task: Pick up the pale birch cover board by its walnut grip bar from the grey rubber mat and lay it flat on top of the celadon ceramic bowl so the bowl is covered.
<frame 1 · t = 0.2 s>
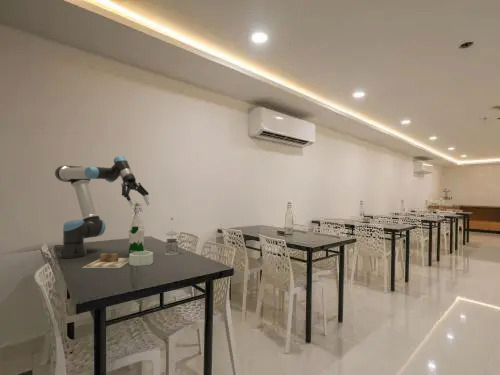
hand: (140, 204, 186), 35 cm above the table, tool tilted 35°, fingers open, 13 cm apart
milk carton: (136, 256, 195), on the table
french press: (172, 253, 205), on the table
ceramic bowl: (141, 263, 178), on the table
rubber mat: (109, 263, 177), on the table
birch board: (109, 262, 177), resting on rubber mat
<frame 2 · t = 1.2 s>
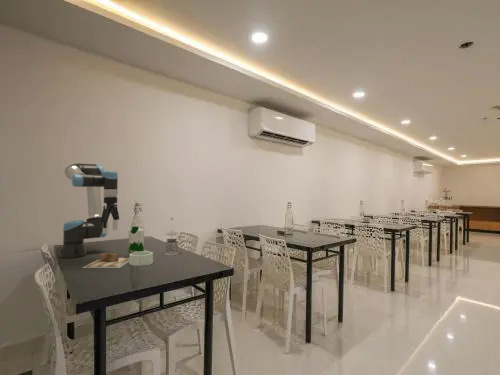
hand: (110, 231, 177), 19 cm above the table, tool pointing down, fingers open, 13 cm apart
nothing on the table moved.
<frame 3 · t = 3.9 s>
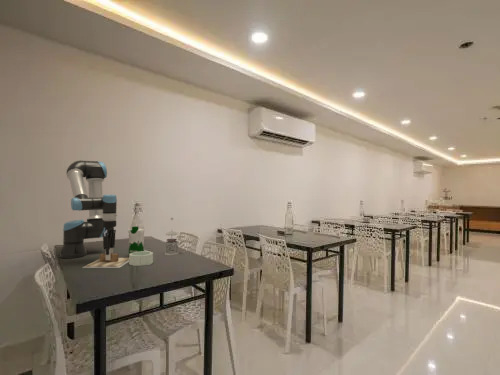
hand: (109, 259, 177), 3 cm above the table, tool pointing down, fingers closed on birch board, 2 cm apart
birch board: (109, 262, 177), resting on rubber mat, touching gripper
everything else where it was.
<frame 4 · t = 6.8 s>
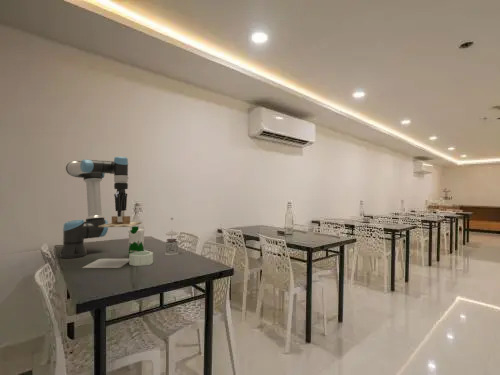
hand: (121, 221, 177), 25 cm above the table, tool pointing down, fingers closed on birch board, 2 cm apart
birch board: (121, 225, 177), point 23 cm above the table, touching gripper
everything else where it was.
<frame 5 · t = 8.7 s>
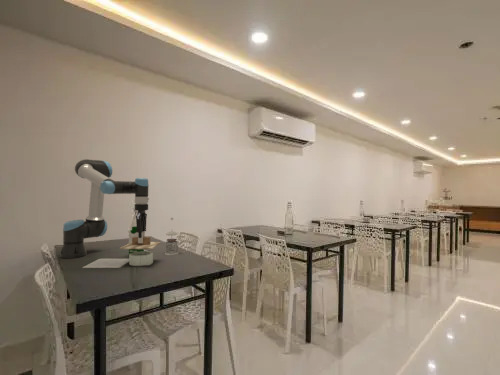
hand: (141, 242, 178), 13 cm above the table, tool pointing down, fingers closed on birch board, 2 cm apart
birch board: (141, 246, 178), point 11 cm above the table, touching gripper
everything else where it was.
when the fingers open (9 cm above the table, at t = 10.0 s): birch board stays where it is, resting on ceramic bowl.
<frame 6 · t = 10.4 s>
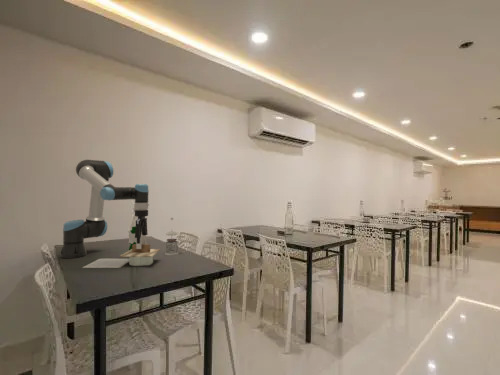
hand: (141, 247, 178), 10 cm above the table, tool pointing down, fingers open, 8 cm apart
birch board: (141, 253, 178), point 6 cm above the table, touching ceramic bowl
everything else where it was.
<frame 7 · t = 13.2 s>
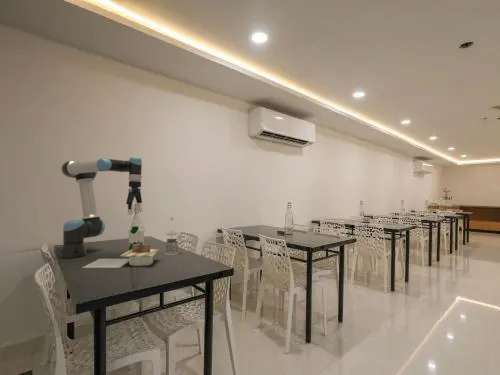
hand: (134, 213, 192), 29 cm above the table, tool pointing down, fingers open, 13 cm apart
nothing on the table moved.
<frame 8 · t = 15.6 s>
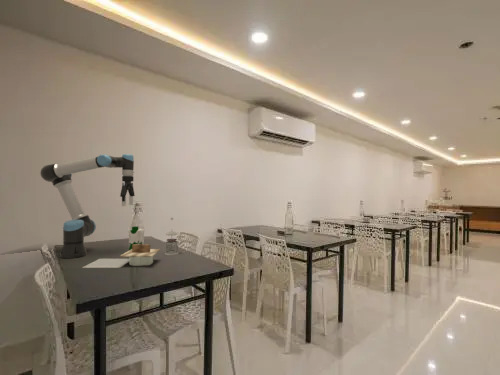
hand: (127, 205, 211), 33 cm above the table, tool pointing down, fingers open, 13 cm apart
nothing on the table moved.
at the end: birch board 0.0 cm off-centre on the ceramic bowl, point 6.0 cm above the ceramic bowl's base; birch board tilted 0°; the gripper is holding nothing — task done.
